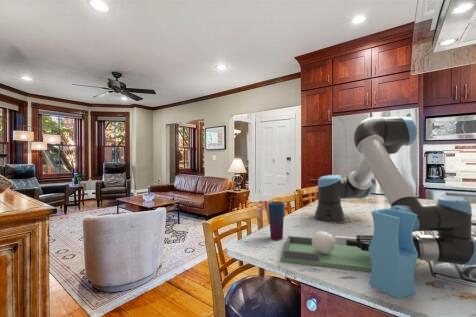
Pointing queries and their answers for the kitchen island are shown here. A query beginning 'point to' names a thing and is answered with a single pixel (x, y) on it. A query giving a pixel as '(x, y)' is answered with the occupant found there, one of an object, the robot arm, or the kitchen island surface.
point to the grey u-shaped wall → (299, 254)
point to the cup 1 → (276, 219)
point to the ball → (323, 242)
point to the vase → (393, 252)
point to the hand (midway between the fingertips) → (335, 240)
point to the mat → (334, 257)
